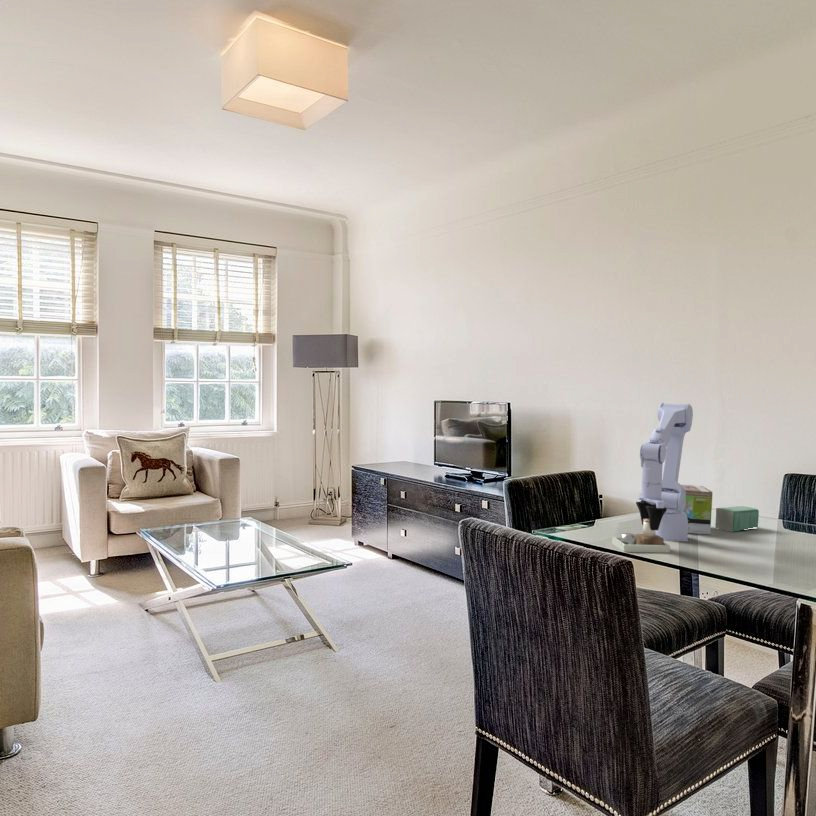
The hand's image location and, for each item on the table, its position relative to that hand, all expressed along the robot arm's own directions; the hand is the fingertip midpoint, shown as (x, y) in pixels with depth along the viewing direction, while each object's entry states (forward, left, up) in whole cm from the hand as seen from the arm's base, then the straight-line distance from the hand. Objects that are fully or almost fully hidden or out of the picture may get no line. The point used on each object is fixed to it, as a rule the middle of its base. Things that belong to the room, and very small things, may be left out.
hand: (650, 527), depth 205 cm
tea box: (-26, -29, -7) cm, 40 cm away
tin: (+6, 0, -6) cm, 9 cm away
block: (0, 0, -6) cm, 6 cm away
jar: (0, 0, -3) cm, 3 cm away
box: (-44, -31, -7) cm, 54 cm away
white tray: (+3, 0, -6) cm, 7 cm away
